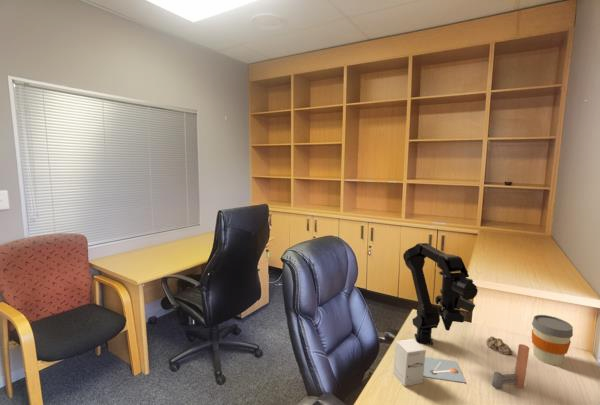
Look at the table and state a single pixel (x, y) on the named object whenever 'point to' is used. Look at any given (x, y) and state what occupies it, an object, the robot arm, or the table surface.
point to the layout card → (442, 370)
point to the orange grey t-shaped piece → (519, 370)
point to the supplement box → (409, 362)
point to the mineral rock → (499, 346)
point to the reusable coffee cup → (550, 339)
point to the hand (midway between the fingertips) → (447, 330)
